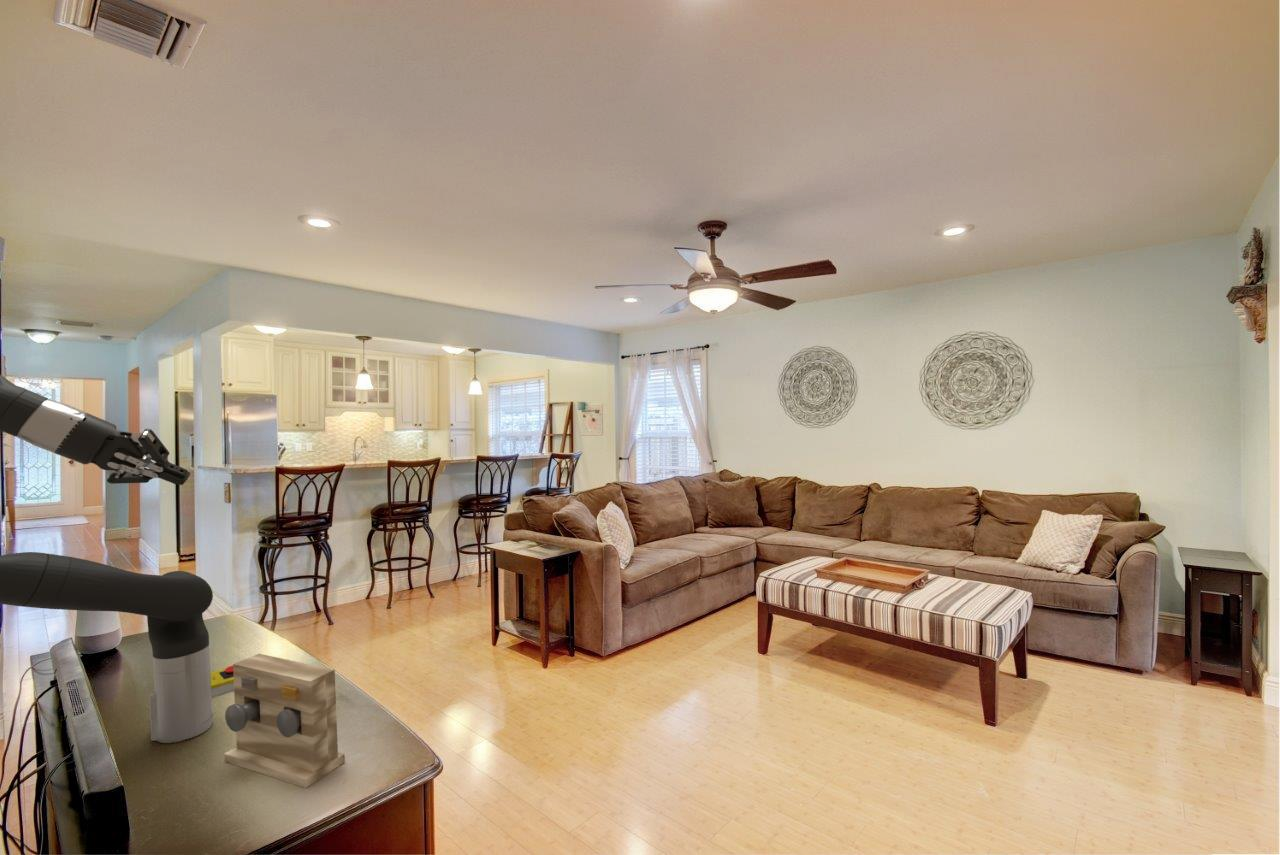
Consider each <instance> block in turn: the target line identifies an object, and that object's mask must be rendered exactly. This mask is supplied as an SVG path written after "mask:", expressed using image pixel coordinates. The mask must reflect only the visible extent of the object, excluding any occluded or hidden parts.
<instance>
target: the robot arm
mask: <svg viewBox="0 0 1280 855" xmlns="http://www.w3.org/2000/svg"><path fill="white" fill-rule="evenodd" d="M0 431H1V432H3V433H5V434H8V435H10V436H13V437H16V438H18V439H20V440H23V441H25V442H26V443H28V444H31V445H32V446H34V447H36V448H40V449H42V450H45V451H48V452H50V453H53V454H56V455H57V456H61V457H64V458H66V459H69V460H72V461H74V462H76V463H80V464H81V465H89V464H94V465H96V467H97V468H100V469H101V470H104V471H106V472H107V474H108V477H107V480H106V481H107V483H109V484H111V485H112V484H113V485H114V484H117V485H118V484H145V483H149V481H151V480H153V479H161V480H164V481H166V482H168V483H171V484H174V485H180V486H184V484H185V483H186V482H187V481H188V480H189V478H190V476H191V472H190V471H189V470H188V469H186V468H184V467H181V466H179V465H177V464H175V463H173V462H172V463H171V462H170V461H169V455H170V451H169V450H168V449H167V448H166V446H165V445H164V443H163V442H162V441H161V440H160V439H159V437H158V436H157V434H156V433H155V432H154V431H153V430H152V429H151V428H144V430H143V431H142V432H137V433H133V432H130V431H126V430H120V429H118V428H117V425H116V424H114V423H112V422H109V421H108V420H105V419H102V418H100V417H97V416H95V415H93V414H90V413H89V412H87V411H83V410H81V409H78V408H76V407H74V406H71V405H69V404H67V403H63V402H60V401H56V400H54V399H50V398H48V397H46V396H44V395H42V394H39V393H36V392H34V391H32V390H30V389H27V388H24V387H21V386H19V385H16V384H14V383H13V382H11V380H8V378H6V377H5V376H3V375H1V374H0ZM213 598H214V594H213V590H212V588H211V586H210V584H209V583H208V582H207V581H206V580H205V579H204V578H202V577H200V576H198V575H196V574H194V573H192V572H189V571H184V570H175V571H169V572H166V573H163V574H161V575H156V574H147V573H140V572H134V571H130V570H127V569H126V570H125V569H122V568H119V567H116V566H113V565H108V564H105V563H101V562H96V561H93V560H89V559H85V558H79V557H75V556H67V555H62V554H61V555H60V554H59V555H58V554H54V553H53V554H52V553H45V552H40V551H39V552H37V551H36V552H34V551H27V552H26V551H25V552H24V551H23V552H14V553H8V554H2V555H0V605H7V606H14V607H25V608H36V609H46V610H64V611H66V610H67V611H81V612H83V611H84V612H85V611H86V612H118V613H126V614H134V615H140V616H146V618H147V619H146V620H147V621H146V622H147V633H148V639H149V642H150V645H151V650H152V665H153V666H152V667H153V684H154V685H153V686H154V687H153V688H154V691H153V692H151V693H150V694H149V700H148V701H149V718H150V719H149V720H150V740H151V741H155V742H156V741H157V742H159V743H162V744H172V743H173V742H174V743H178V742H183V741H186V740H185V739H187V740H189V738H190V739H192V738H195V737H197V736H200V735H202V734H204V733H205V732H206V731H208V730H209V729H210V728H211V727H212V726H213V717H214V716H213V699H212V694H211V673H212V672H211V656H210V653H211V652H210V637H209V636H210V635H209V631H208V629H207V626H206V624H205V621H204V618H203V613H204V612H206V610H208V609H209V607H210V606H211V604H212V602H213V600H214V599H213ZM182 740H183V741H182ZM174 743H173V744H174Z"/></svg>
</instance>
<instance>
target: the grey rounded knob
mask: <svg viewBox="0 0 1280 855" xmlns="http://www.w3.org/2000/svg"><path fill="white" fill-rule="evenodd" d="M299 726H301V711H300V710H296V709H295V710H294V711H293V710H291V709H285V710H283V711H281V712H279V714H278V716H277V727H278V729H279V731H280V733H281V734H282V735H283V736H285V737H291V736H293V735H295V734H296V733H297V732H298V730H299Z"/></svg>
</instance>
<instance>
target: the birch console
mask: <svg viewBox="0 0 1280 855" xmlns="http://www.w3.org/2000/svg"><path fill="white" fill-rule="evenodd" d="M232 666H233V674H234V691H233V693H234V704H239V705H241V706H242V705H244V704H247V703H249V702H251V701H253V700H257V701H259V702H260V715H258V716H256V717H254V718H252V719H250V720H248V721H247V723H246V726H245V727H244V728H243V729H242V730H240V731H238V732H235V738H236V739H235V740H236V747H234V748H232V749H230V750H228V751H226V752H224V753H223V756H224V758H223V759H224V762H225V761H226V762H225V763H228V762H229V763H228V764H230V765H231V764H232V765H234V766H237V767H240V768H244V769H245V770H246V769H247V770H249V771H253V772H255V773H256V772H257V773H259V774H262V775H265V776H269V777H271V778H274V779H277V780H281V781H284V782H286V783H289V784H292V785H296V786H298V787H302V788H305V789H307V788H308V787H309V786H311V785H313V784H314V783H315V782H317V781H318V780H320V779H322V778H323V777H324V776H326V775H328V774H330V772H333V771H334V770H335V769H336V767H337V766H338V767H340V766H341V765H342V763H343V762H344V761H346V760H345V759H346V758H345V753H343V752H339V748H338V722H337V721H338V720H337V701H336V700H337V696H336V695H337V694H336V691H337V690H336V674H335V672H336V669H335V668H330V667H329V668H328V667H324V666H320V665H315V664H309V663H304V662H301V661H296V660H290V659H285V658H281V657H278V656H277V657H276V656H271V655H268V654H262V653H258V654H254V655H252V656H249V657H248V658H245V659H242V660H239V661H238V662H234V663H233V664H232ZM285 709H291V710H293V711H294V710H295V709H296V710H300V711H301V726H299V730H298V732H297V733H296V734H295V735H293V736H291V737H285V736H283V735H282V734H281V733H280V731H279V729H278V727H277V716H278V714H279V712H281V711H283V710H285ZM344 763H345V762H344ZM344 763H343V764H344ZM340 764H341V765H340ZM339 765H340V766H339ZM338 767H337V768H338Z"/></svg>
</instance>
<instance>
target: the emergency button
mask: <svg viewBox="0 0 1280 855" xmlns="http://www.w3.org/2000/svg"><path fill="white" fill-rule="evenodd" d="M232 692H234V674H233V665H230V666H228V667H226V668H223V669H219V670H216V671H212V672H211V694H212V698H215V697H219V696H222V695H225V694H229V693H232Z"/></svg>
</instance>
